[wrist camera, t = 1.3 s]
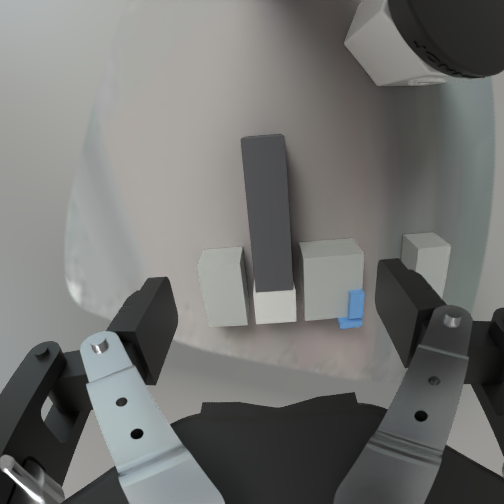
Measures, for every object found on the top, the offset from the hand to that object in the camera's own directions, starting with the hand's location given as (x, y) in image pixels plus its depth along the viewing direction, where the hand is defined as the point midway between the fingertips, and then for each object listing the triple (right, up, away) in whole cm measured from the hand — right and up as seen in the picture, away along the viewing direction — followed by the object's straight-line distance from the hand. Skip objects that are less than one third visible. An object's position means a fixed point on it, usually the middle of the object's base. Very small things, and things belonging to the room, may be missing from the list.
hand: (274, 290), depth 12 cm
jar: (+11, +19, +9) cm, 24 cm away
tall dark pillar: (+1, +4, +16) cm, 16 cm away
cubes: (+6, 0, +17) cm, 18 cm away
